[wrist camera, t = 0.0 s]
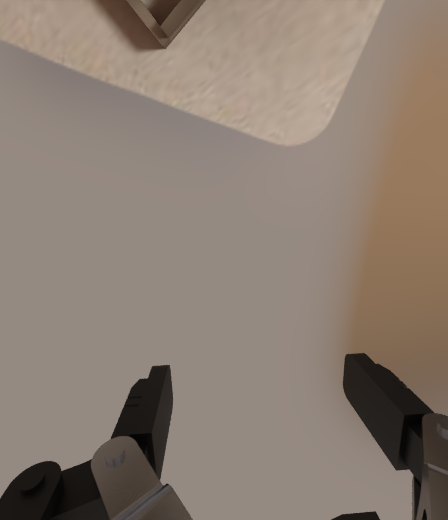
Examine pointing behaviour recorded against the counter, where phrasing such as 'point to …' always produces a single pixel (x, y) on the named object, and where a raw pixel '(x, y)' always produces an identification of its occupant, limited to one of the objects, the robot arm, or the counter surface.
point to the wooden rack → (167, 19)
